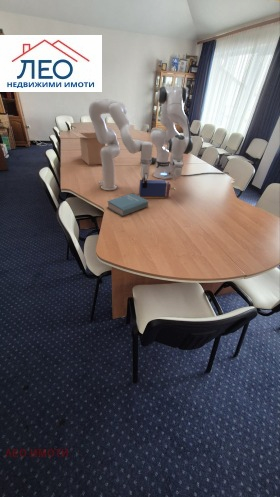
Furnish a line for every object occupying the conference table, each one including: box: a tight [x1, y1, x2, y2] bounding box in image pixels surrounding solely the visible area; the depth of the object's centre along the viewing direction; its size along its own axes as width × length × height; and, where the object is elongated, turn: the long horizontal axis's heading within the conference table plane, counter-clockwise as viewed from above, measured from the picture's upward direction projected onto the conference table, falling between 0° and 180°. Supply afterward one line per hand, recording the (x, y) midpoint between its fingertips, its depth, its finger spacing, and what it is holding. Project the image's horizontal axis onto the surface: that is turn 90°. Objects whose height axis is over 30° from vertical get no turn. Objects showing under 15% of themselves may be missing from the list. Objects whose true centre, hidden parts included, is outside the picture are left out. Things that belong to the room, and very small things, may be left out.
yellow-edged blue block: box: [138, 179, 167, 199], centre depth 167 cm, size 20×6×12 cm, turn 97°
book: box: [107, 192, 149, 217], centre depth 151 cm, size 23×16×5 cm
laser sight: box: [139, 156, 157, 165], centre depth 240 cm, size 10×22×10 cm, turn 78°
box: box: [70, 129, 106, 166], centre depth 229 cm, size 44×36×27 cm
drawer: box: [165, 181, 177, 198], centre depth 168 cm, size 23×5×10 cm, turn 97°
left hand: (144, 185), depth 165 cm, fingers closed on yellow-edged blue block, 6 cm apart
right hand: (173, 180), depth 165 cm, fingers closed
